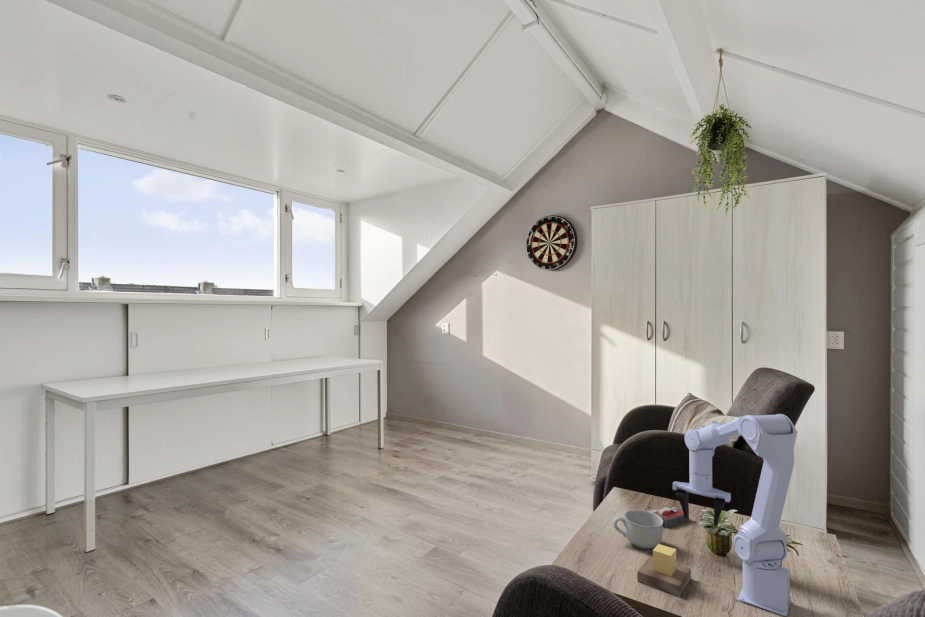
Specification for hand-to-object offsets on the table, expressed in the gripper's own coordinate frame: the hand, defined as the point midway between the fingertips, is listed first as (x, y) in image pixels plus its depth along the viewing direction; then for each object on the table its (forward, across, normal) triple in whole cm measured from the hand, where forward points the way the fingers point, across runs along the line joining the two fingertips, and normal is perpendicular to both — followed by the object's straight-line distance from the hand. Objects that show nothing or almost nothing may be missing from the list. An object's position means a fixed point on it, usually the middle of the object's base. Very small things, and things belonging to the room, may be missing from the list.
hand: (701, 520), depth 132 cm
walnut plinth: (+9, +4, +20) cm, 22 cm away
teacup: (+10, +16, +5) cm, 19 cm away
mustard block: (+7, +4, +20) cm, 21 cm away
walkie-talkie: (+10, +16, -15) cm, 24 cm away
